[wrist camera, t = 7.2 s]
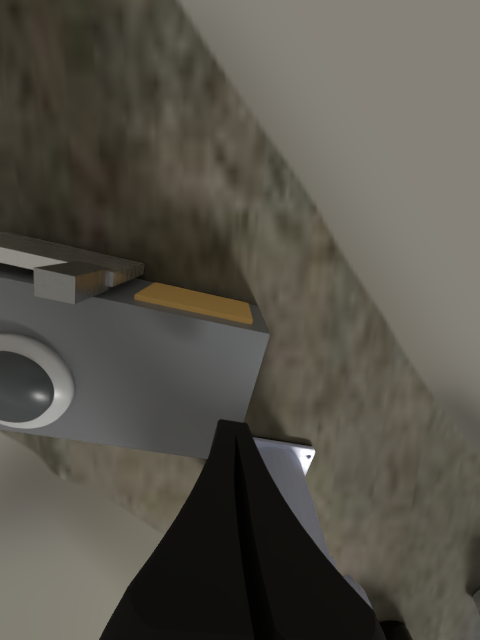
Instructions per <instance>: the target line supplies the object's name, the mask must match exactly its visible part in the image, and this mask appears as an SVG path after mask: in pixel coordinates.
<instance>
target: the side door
mask: <svg viewBox="0 0 480 640" xmlns="http://www.w3.org/2000/svg"><path fill="white" fill-rule="evenodd" d="M0 263H4V264H9V265H14V266H18V267H23V268H27V269H32V270H34V296H37V297H41V298H46V299H51V300H56V301H61V302H66V303H70V304H77V303H79V302H81V301H84V300H86V299H88V298H91V297H93V296H95V295H98V294H100V293H102V292H105V291H107V290H109V286H110V287H114V286H117V285H119V284H121V283H124V282H126V281H128V280H131V279H133V278H136V277H138V276H140V275H143V271H144V263H140V262H136V261H132V260H128V259H123V258H119V257H115V256H110V255H106V254H102V253H97V252H93V251H89V250H84V249H80V248H76V247H72V246H67V245H63V244H59V243H54V242H50V241H46V240H41V239H37V238H33V237H28V236H24V235H20V234H16V233H11V232H0Z"/></svg>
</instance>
